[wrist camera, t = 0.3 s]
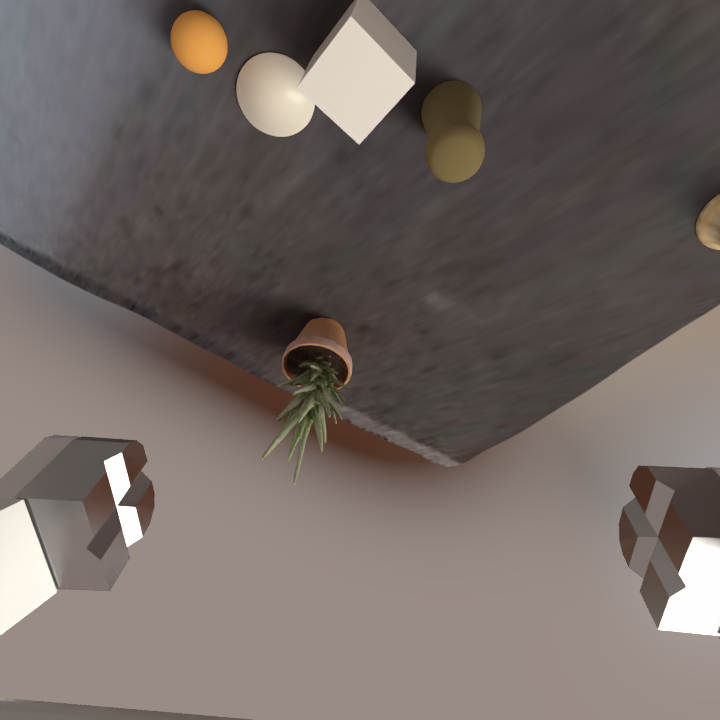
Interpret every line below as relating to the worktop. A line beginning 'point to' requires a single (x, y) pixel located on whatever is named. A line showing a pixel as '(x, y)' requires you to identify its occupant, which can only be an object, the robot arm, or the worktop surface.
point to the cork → (453, 131)
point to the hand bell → (709, 224)
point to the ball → (199, 42)
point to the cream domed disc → (273, 94)
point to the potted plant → (313, 381)
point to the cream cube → (360, 70)
